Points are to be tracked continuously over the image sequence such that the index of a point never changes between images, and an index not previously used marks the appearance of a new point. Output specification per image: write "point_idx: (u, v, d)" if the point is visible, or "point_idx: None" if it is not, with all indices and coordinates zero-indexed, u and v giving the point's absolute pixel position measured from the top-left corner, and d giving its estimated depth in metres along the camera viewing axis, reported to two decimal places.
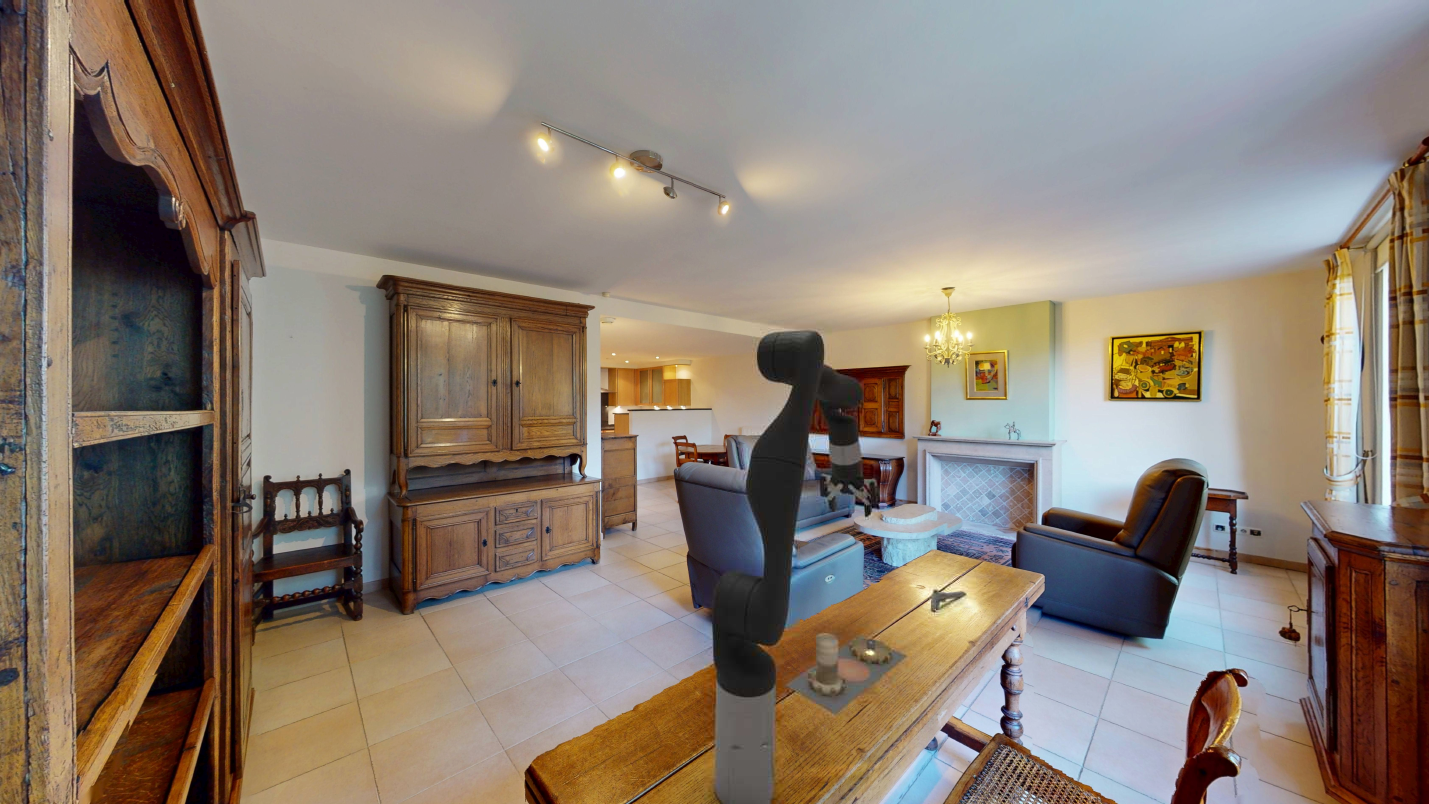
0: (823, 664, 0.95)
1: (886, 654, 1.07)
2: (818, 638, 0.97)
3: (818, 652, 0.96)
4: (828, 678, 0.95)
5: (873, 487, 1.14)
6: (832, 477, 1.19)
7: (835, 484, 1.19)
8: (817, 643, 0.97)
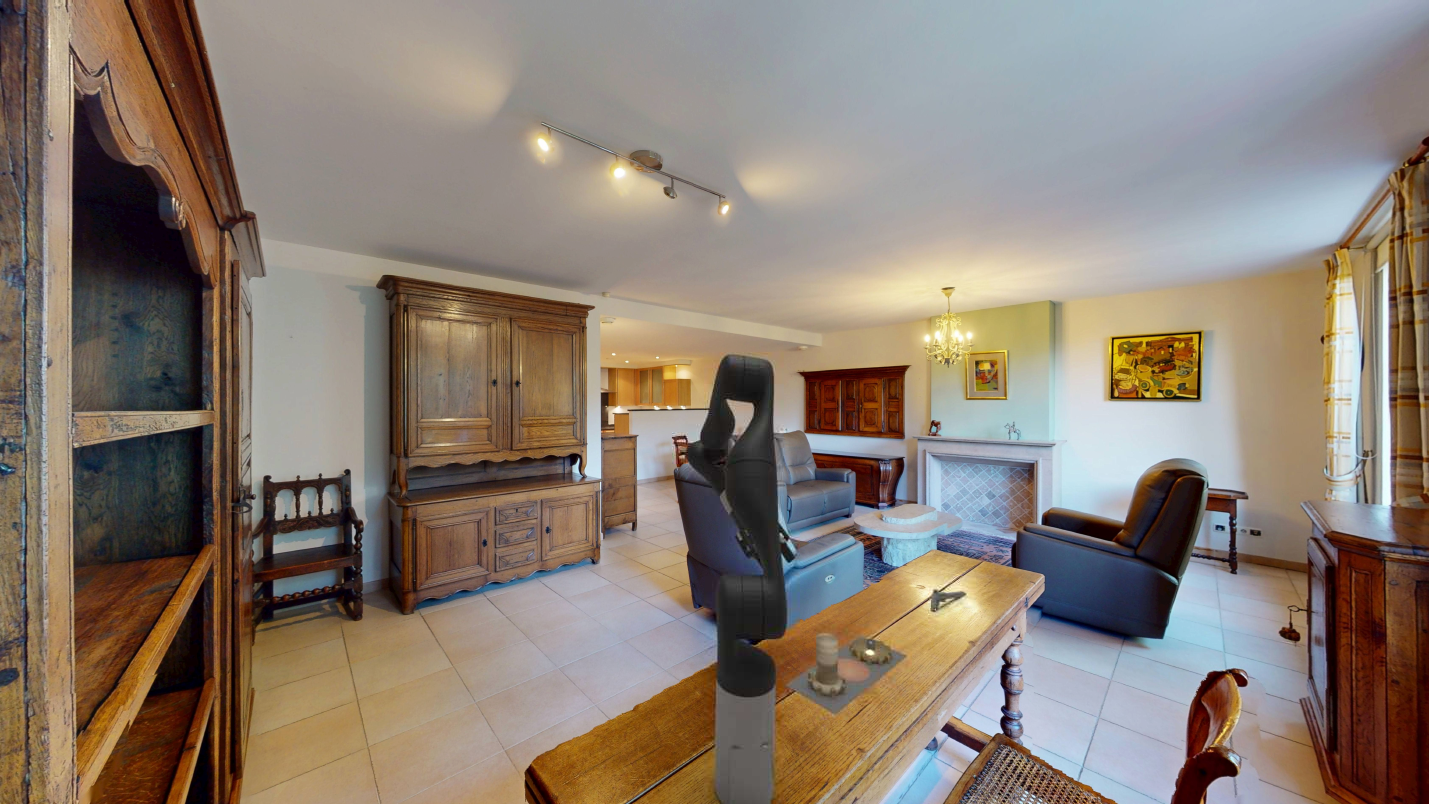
0: (823, 664, 0.95)
1: (886, 654, 1.07)
2: (818, 638, 0.97)
3: (818, 652, 0.96)
4: (828, 678, 0.95)
5: None
6: None
7: None
8: (817, 643, 0.97)
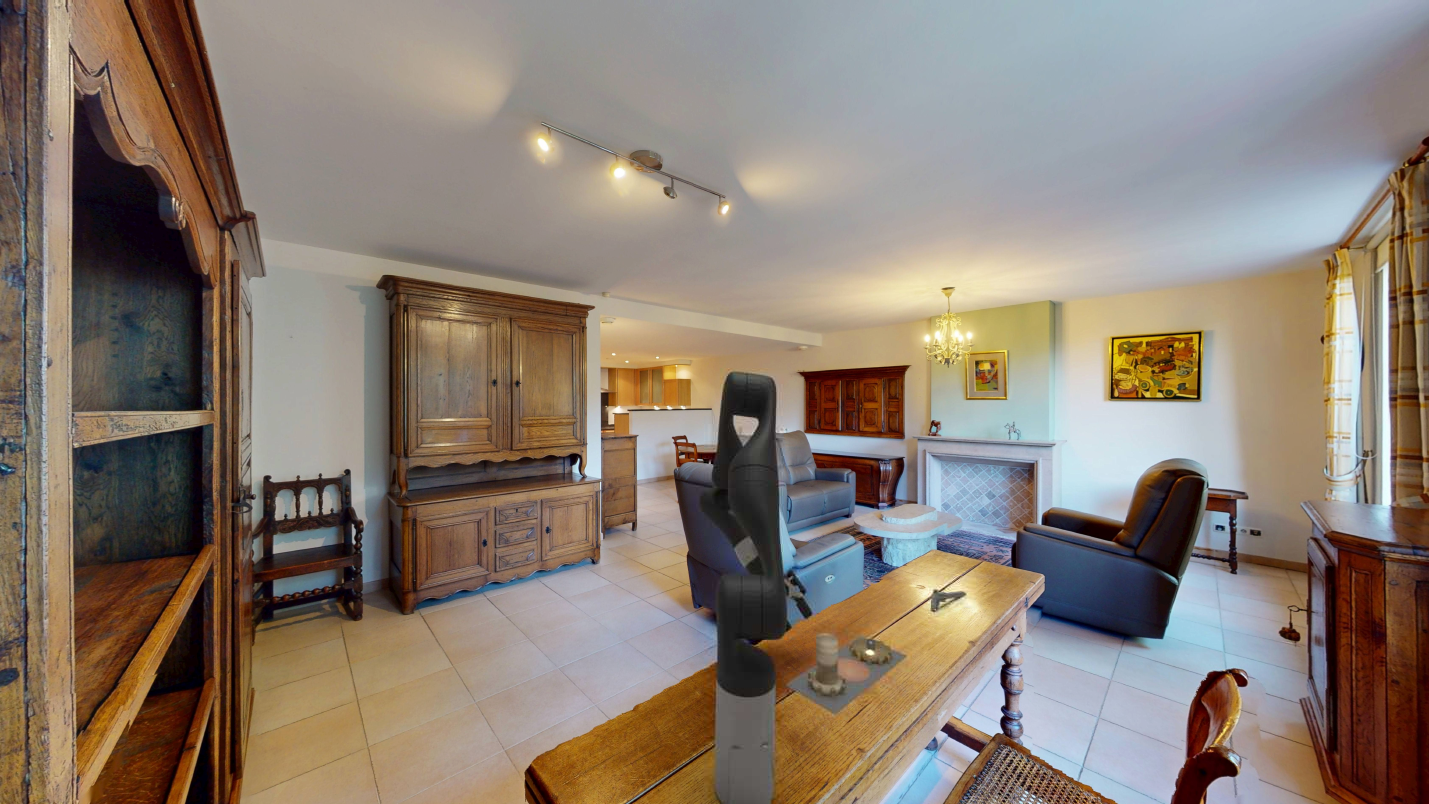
0: (823, 664, 0.95)
1: (886, 654, 1.07)
2: (818, 638, 0.97)
3: (818, 652, 0.96)
4: (828, 678, 0.95)
5: (794, 574, 1.10)
6: None
7: None
8: (817, 643, 0.97)
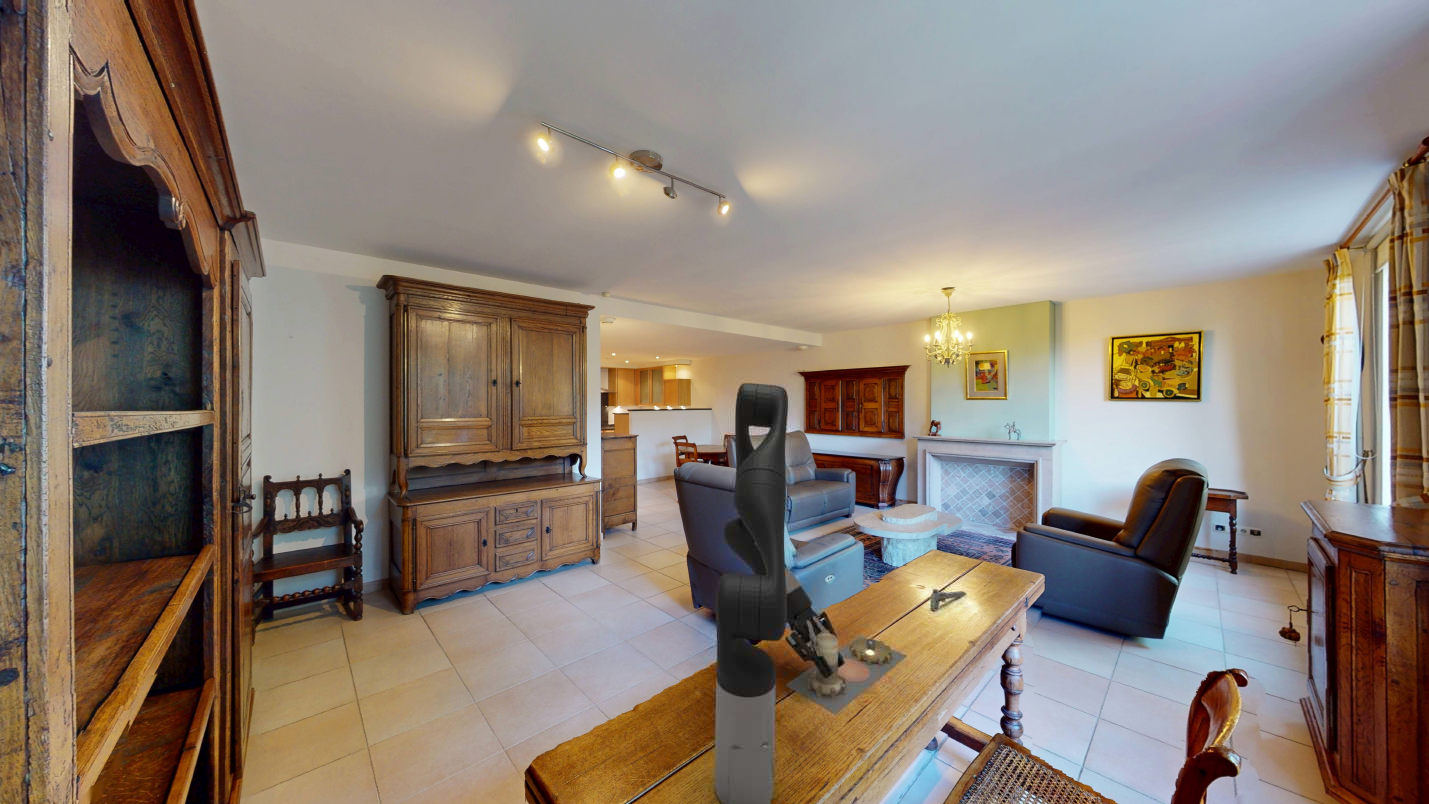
0: None
1: (886, 654, 1.07)
2: (818, 638, 0.97)
3: None
4: (828, 679, 0.95)
5: (827, 617, 1.04)
6: (796, 623, 0.98)
7: (805, 631, 0.98)
8: None
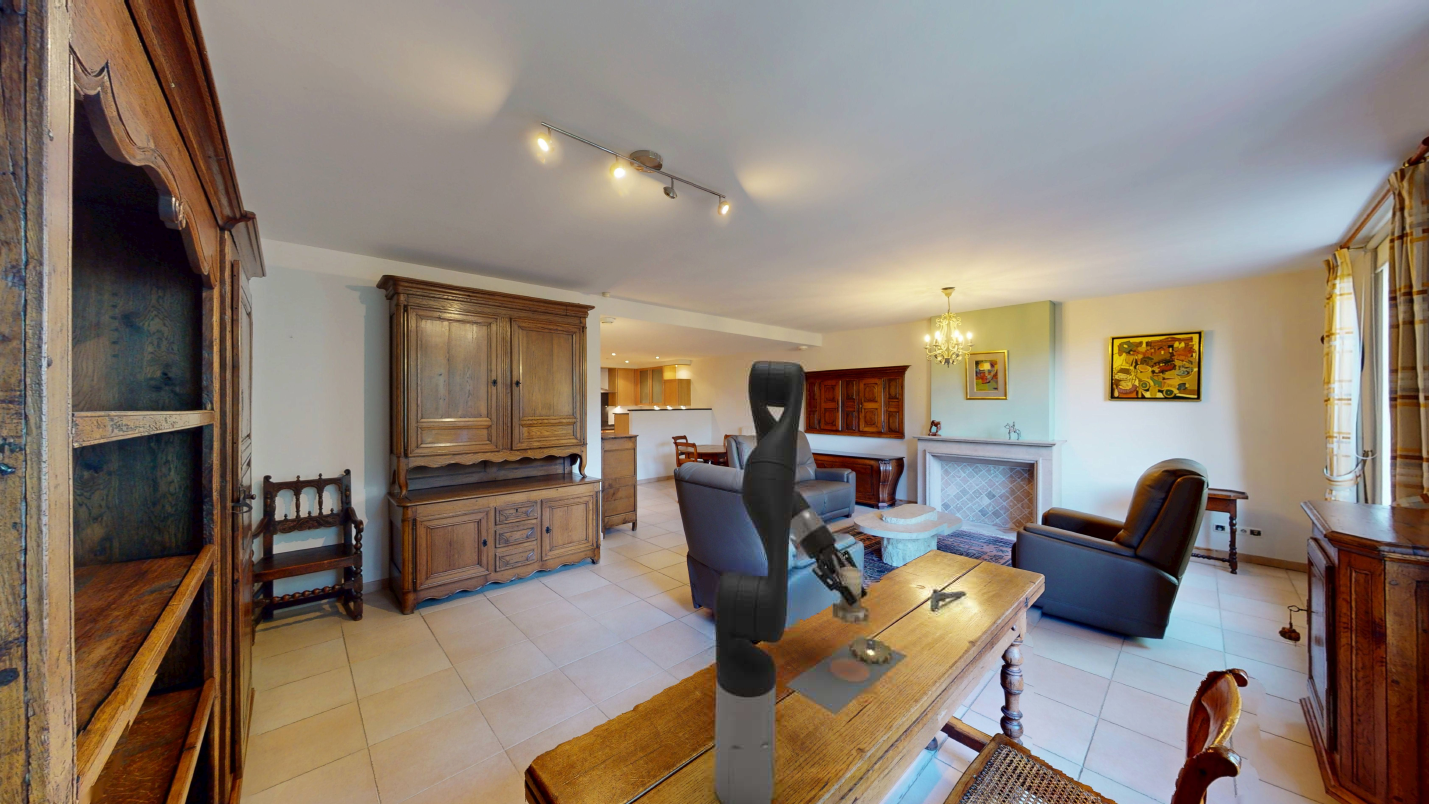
0: None
1: (886, 654, 1.07)
2: (842, 570, 1.03)
3: None
4: (852, 607, 1.01)
5: (849, 554, 1.10)
6: (821, 556, 1.04)
7: (830, 564, 1.04)
8: (842, 575, 1.03)
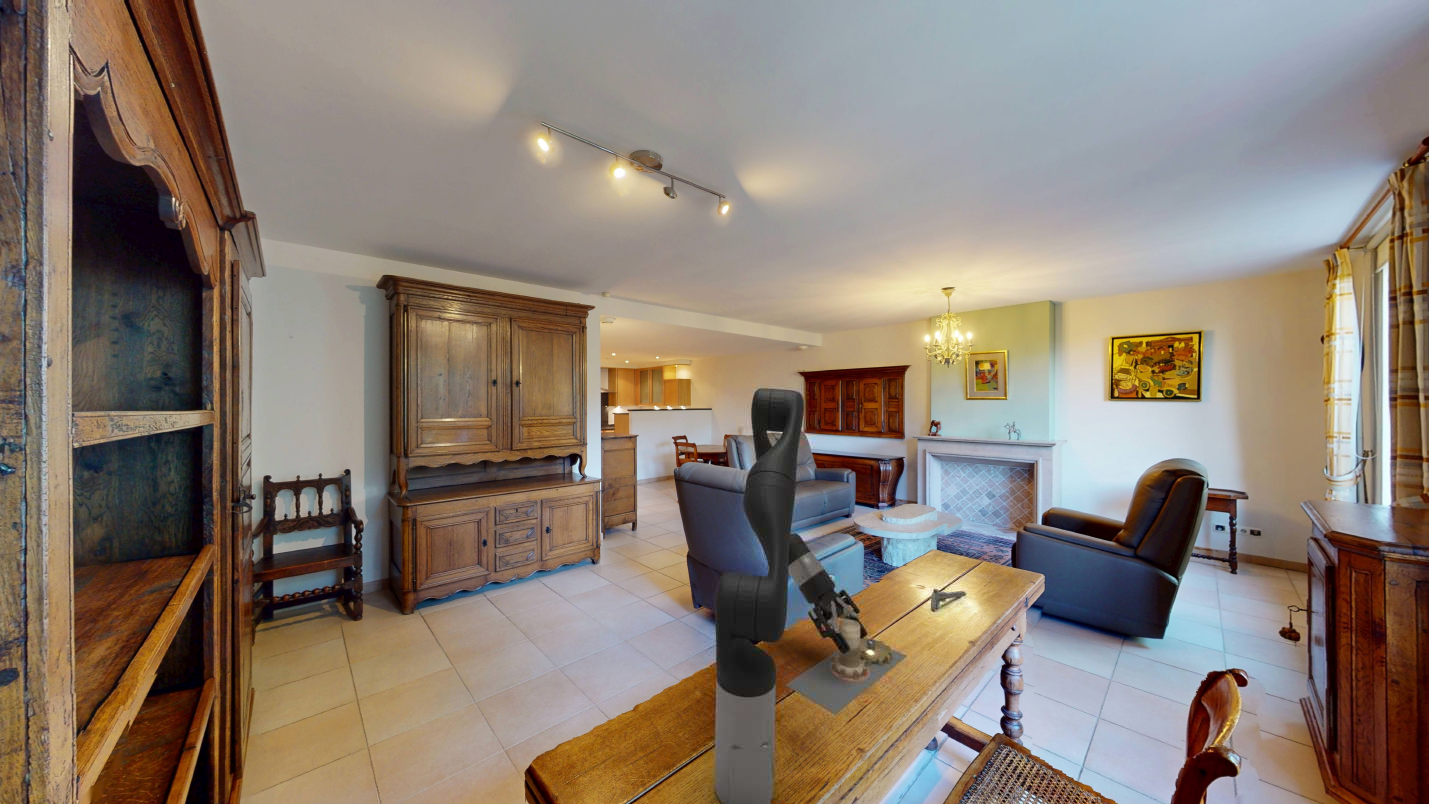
0: None
1: (886, 654, 1.07)
2: (841, 624, 1.03)
3: None
4: (851, 661, 1.01)
5: (846, 594, 1.11)
6: (821, 602, 1.04)
7: (828, 609, 1.04)
8: (840, 628, 1.03)
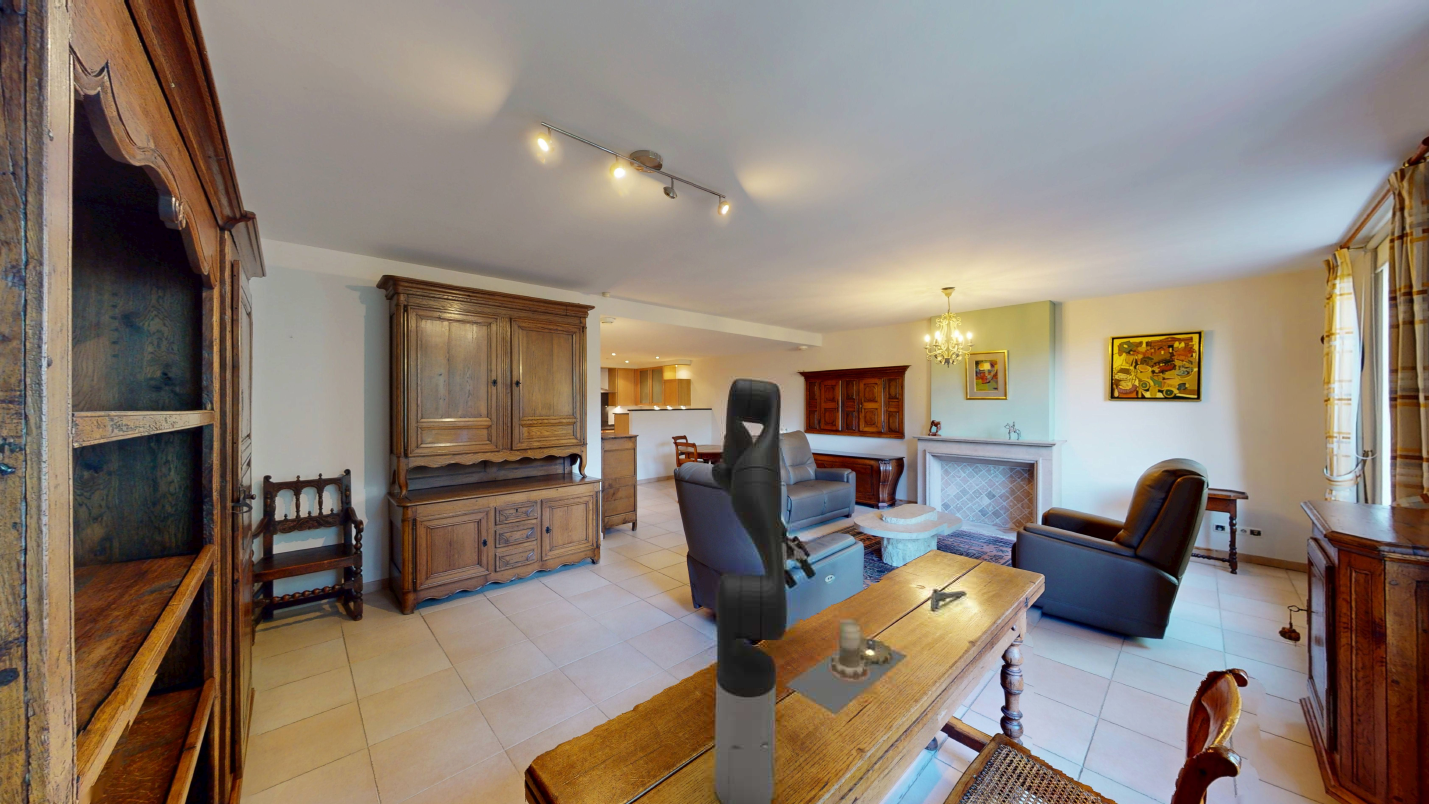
0: (846, 648, 1.02)
1: (886, 654, 1.07)
2: (841, 624, 1.03)
3: (841, 637, 1.02)
4: (851, 661, 1.01)
5: (798, 539, 1.19)
6: None
7: None
8: (840, 628, 1.03)
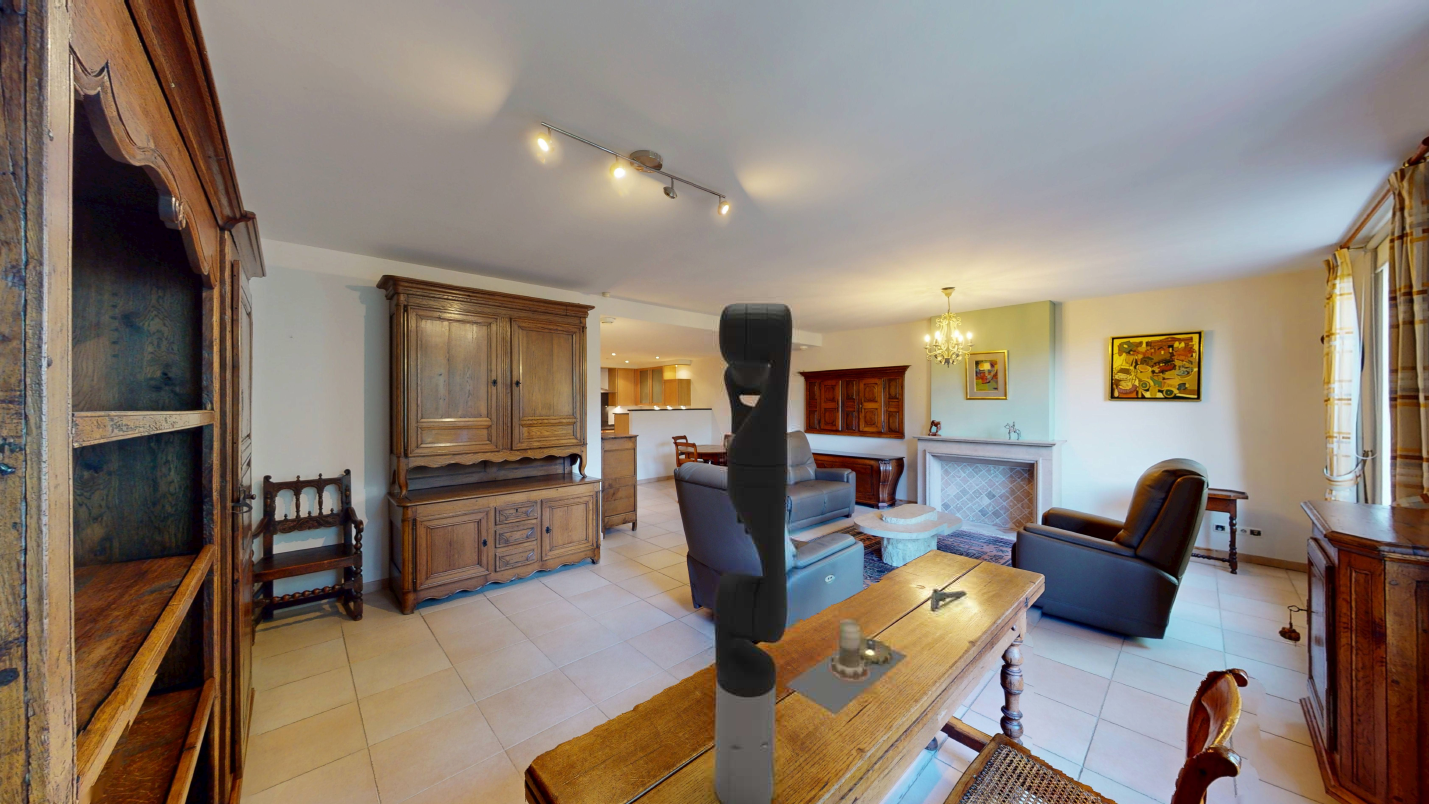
0: (846, 648, 1.02)
1: (886, 654, 1.07)
2: (841, 624, 1.03)
3: (841, 637, 1.02)
4: (851, 661, 1.01)
5: None
6: None
7: None
8: (840, 628, 1.03)
